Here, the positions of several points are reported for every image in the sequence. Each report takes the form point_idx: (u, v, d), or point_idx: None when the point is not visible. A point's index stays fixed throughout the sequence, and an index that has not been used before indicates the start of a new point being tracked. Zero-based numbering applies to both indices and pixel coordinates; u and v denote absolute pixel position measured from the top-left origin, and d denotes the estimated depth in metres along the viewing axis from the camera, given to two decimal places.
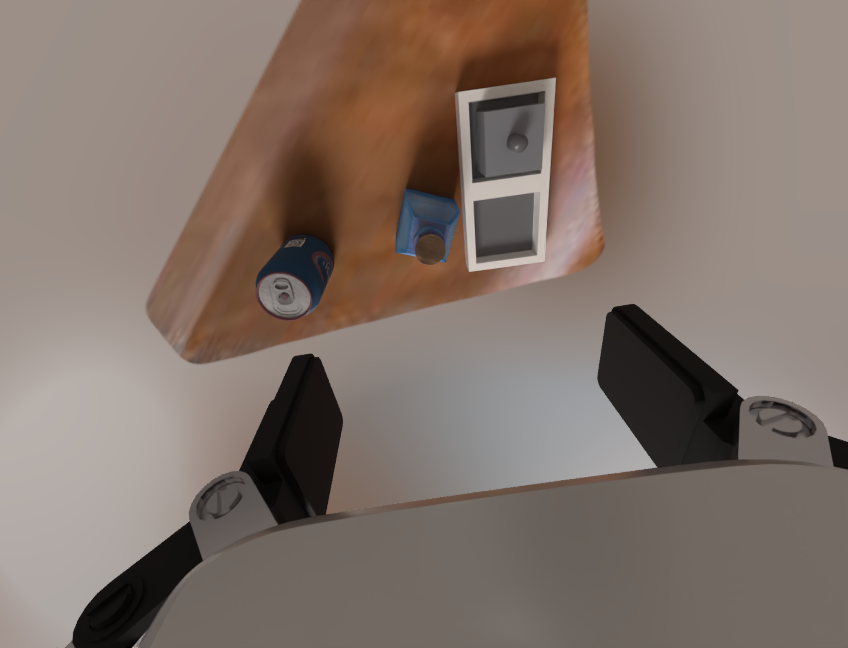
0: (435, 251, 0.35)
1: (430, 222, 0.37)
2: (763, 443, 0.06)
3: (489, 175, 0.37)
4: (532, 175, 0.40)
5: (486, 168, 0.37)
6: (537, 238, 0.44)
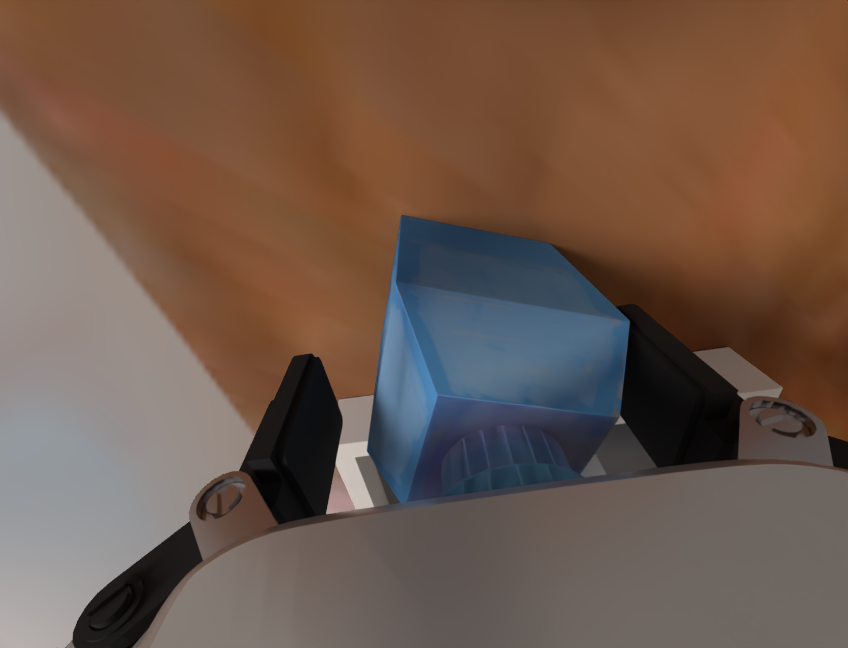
0: None
1: (575, 469, 0.08)
2: (763, 443, 0.06)
3: None
4: None
5: None
6: None
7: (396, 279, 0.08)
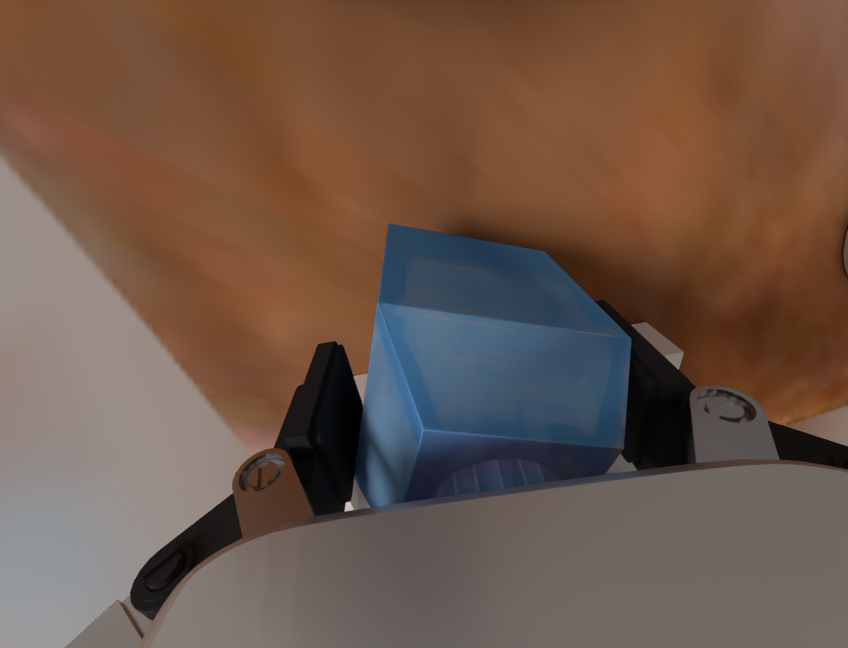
0: None
1: None
2: (714, 431, 0.07)
3: None
4: None
5: None
6: None
7: (379, 298, 0.08)
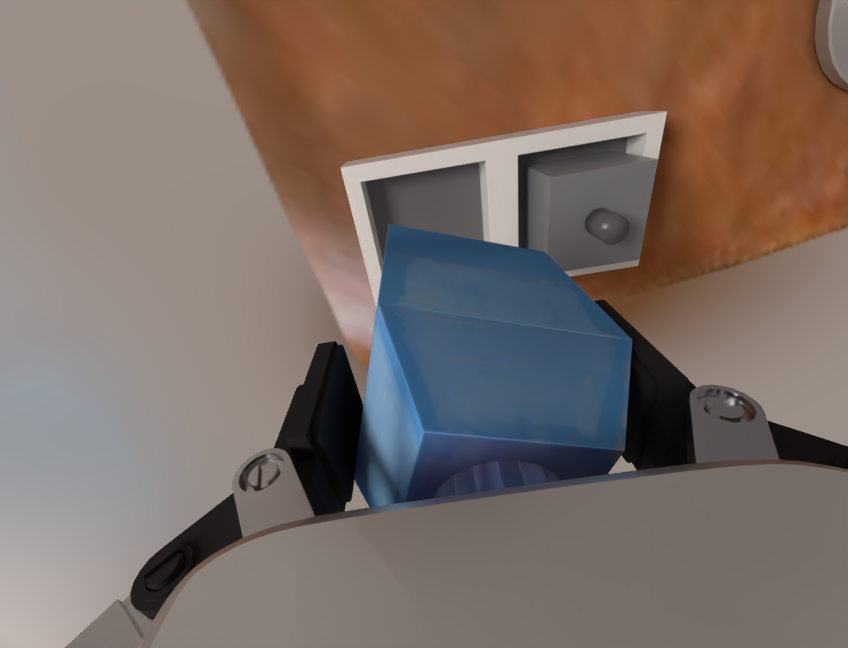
0: None
1: None
2: (714, 431, 0.07)
3: (552, 183, 0.20)
4: None
5: (565, 176, 0.20)
6: None
7: (379, 299, 0.08)
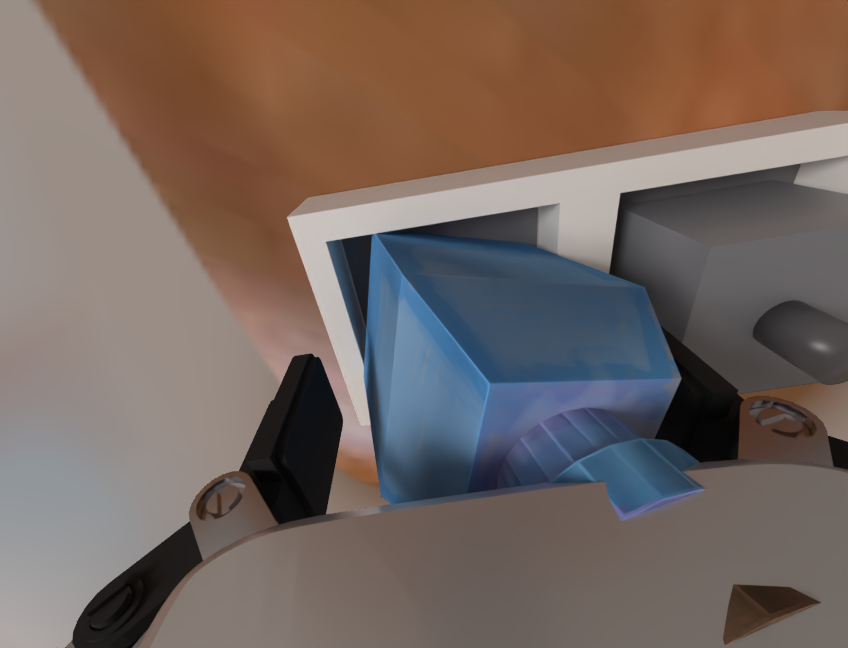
0: None
1: None
2: (763, 443, 0.06)
3: (712, 259, 0.10)
4: None
5: (739, 244, 0.10)
6: None
7: (401, 272, 0.07)
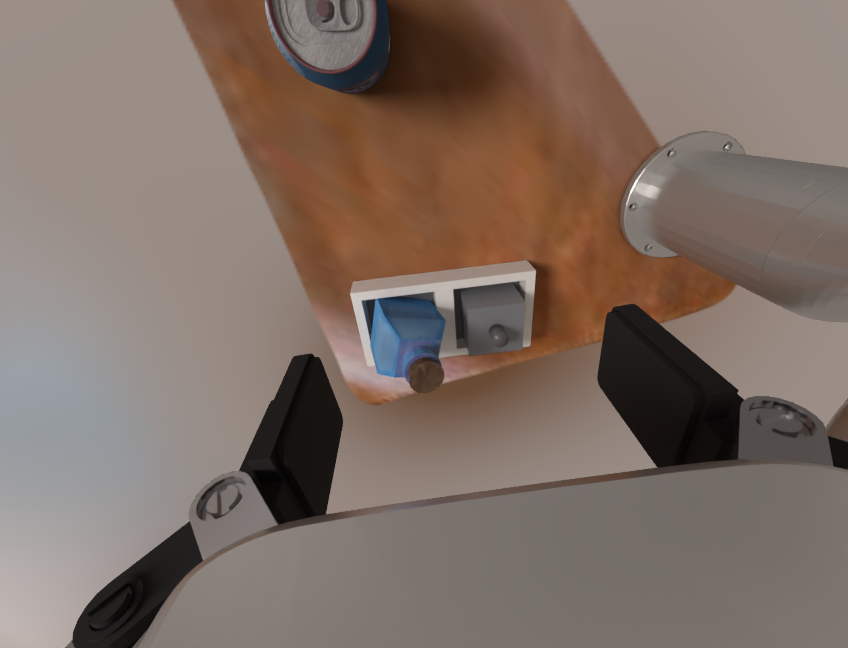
0: (425, 383, 0.30)
1: None
2: (763, 443, 0.06)
3: (468, 312, 0.36)
4: (455, 341, 0.41)
5: (475, 309, 0.36)
6: None
7: (384, 316, 0.33)
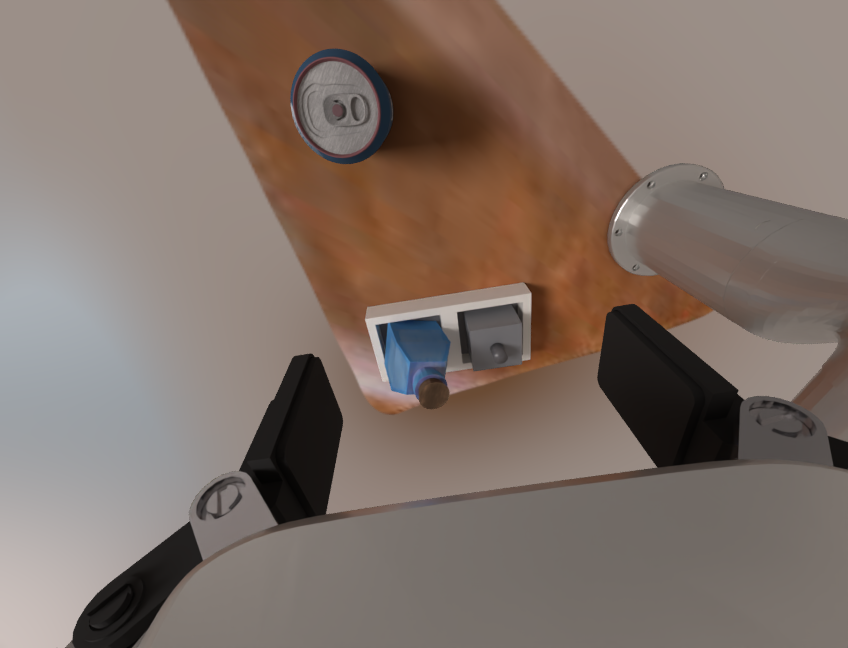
0: (433, 400, 0.35)
1: (442, 376, 0.38)
2: (763, 443, 0.06)
3: (471, 333, 0.40)
4: (461, 357, 0.46)
5: (477, 330, 0.40)
6: None
7: (396, 341, 0.38)
